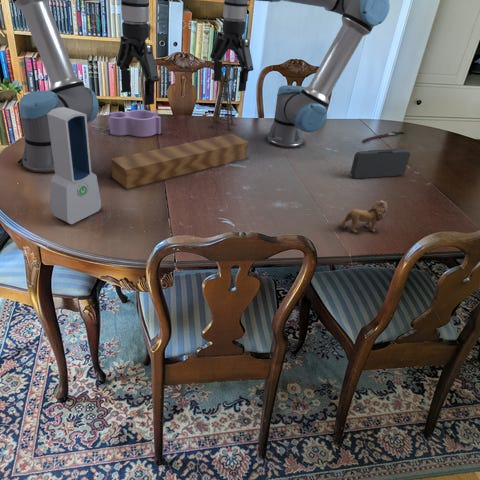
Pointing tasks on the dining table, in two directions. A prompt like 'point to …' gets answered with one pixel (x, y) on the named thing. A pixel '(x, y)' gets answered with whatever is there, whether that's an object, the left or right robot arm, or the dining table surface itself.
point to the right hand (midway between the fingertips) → (229, 85)
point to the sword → (382, 136)
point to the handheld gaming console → (380, 163)
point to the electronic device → (71, 167)
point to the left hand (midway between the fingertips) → (137, 98)
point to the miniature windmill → (224, 79)
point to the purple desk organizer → (135, 123)
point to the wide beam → (177, 160)
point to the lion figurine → (366, 215)
